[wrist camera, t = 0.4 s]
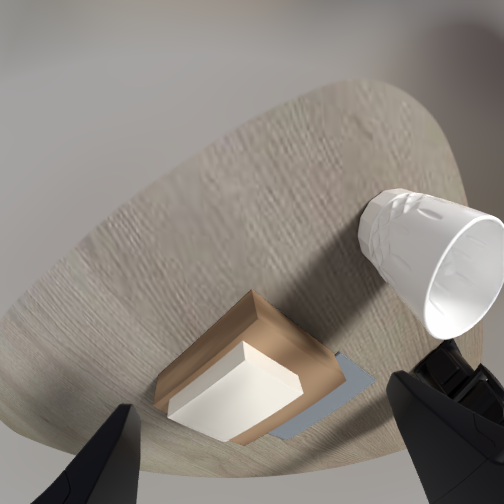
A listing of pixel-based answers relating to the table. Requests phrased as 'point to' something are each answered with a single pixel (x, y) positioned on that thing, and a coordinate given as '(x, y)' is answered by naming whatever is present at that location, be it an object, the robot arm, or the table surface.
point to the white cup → (435, 257)
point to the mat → (328, 399)
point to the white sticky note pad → (235, 394)
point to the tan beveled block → (267, 342)
